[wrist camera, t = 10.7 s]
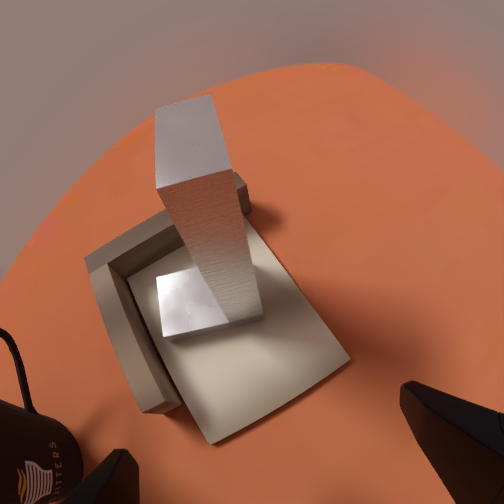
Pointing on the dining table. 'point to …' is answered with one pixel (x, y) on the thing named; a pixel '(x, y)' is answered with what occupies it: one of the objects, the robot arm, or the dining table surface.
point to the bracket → (202, 225)
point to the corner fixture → (213, 344)
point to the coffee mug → (34, 449)
